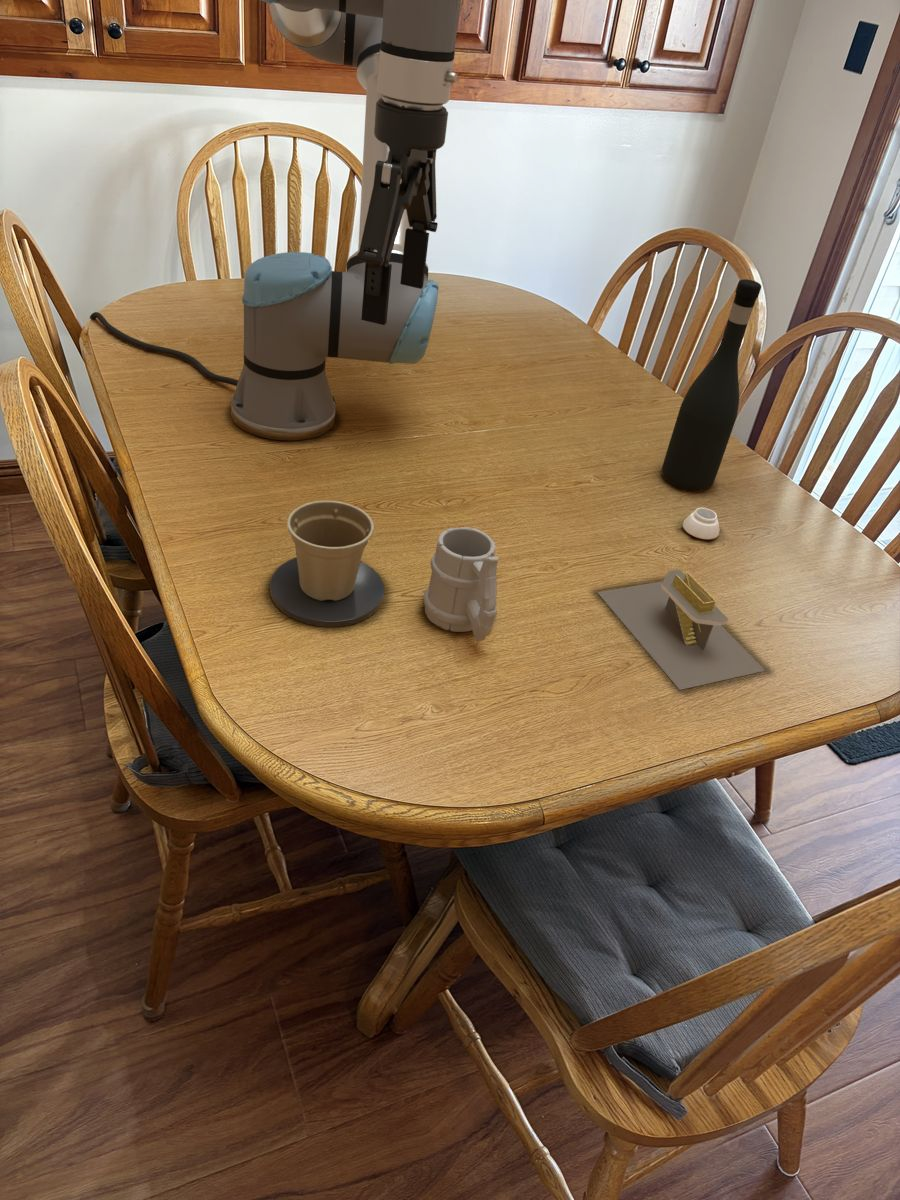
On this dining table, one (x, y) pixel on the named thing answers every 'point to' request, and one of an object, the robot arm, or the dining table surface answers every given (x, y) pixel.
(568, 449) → the dining table surface
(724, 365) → the wine bottle
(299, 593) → the coaster
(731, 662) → the platform
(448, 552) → the mug
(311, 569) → the flower pot
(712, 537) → the small white bowl
